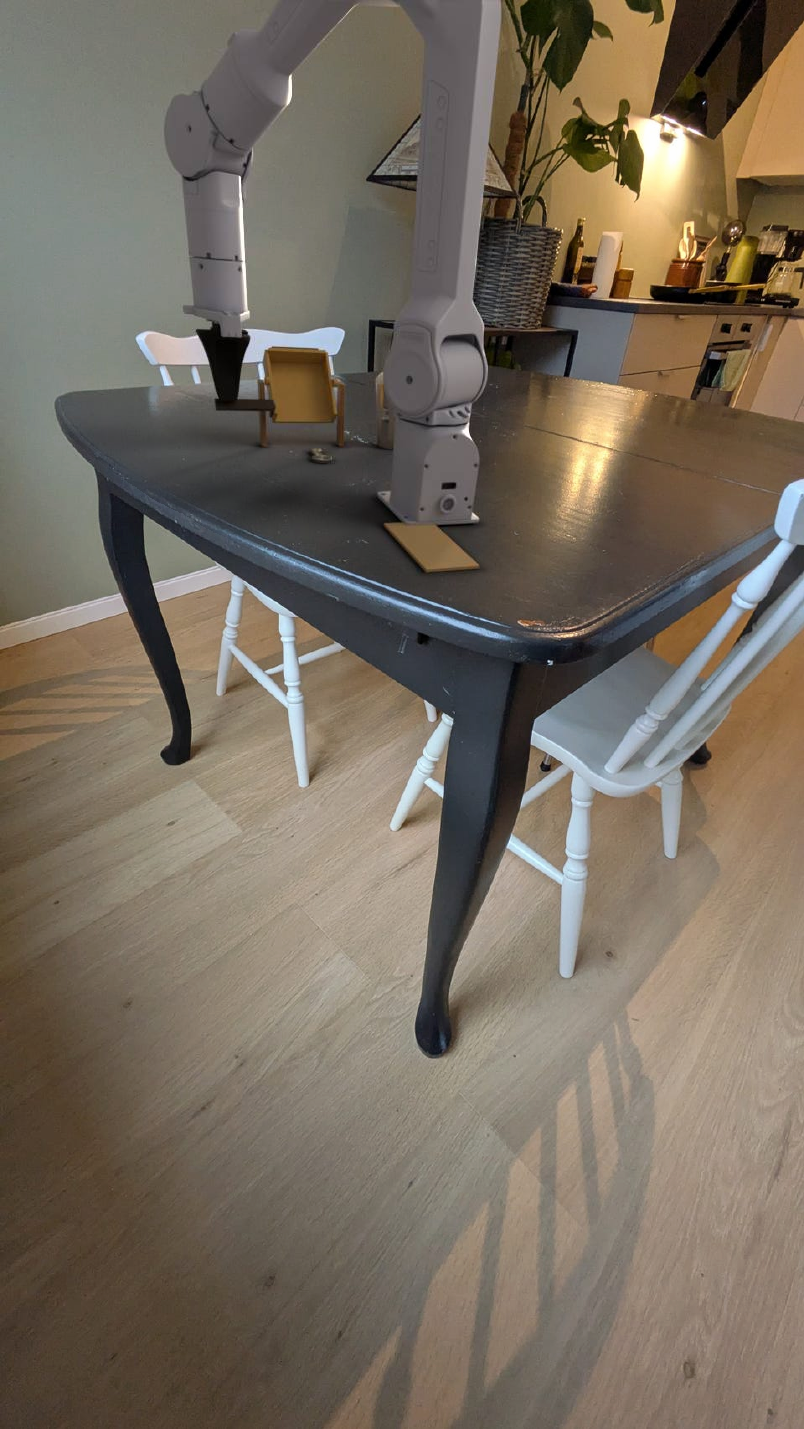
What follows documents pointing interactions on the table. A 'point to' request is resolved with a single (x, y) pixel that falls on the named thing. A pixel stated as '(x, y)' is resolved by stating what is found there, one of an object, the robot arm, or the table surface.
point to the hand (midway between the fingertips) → (227, 400)
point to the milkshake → (384, 417)
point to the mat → (431, 547)
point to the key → (319, 456)
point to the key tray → (293, 387)
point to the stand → (339, 414)
